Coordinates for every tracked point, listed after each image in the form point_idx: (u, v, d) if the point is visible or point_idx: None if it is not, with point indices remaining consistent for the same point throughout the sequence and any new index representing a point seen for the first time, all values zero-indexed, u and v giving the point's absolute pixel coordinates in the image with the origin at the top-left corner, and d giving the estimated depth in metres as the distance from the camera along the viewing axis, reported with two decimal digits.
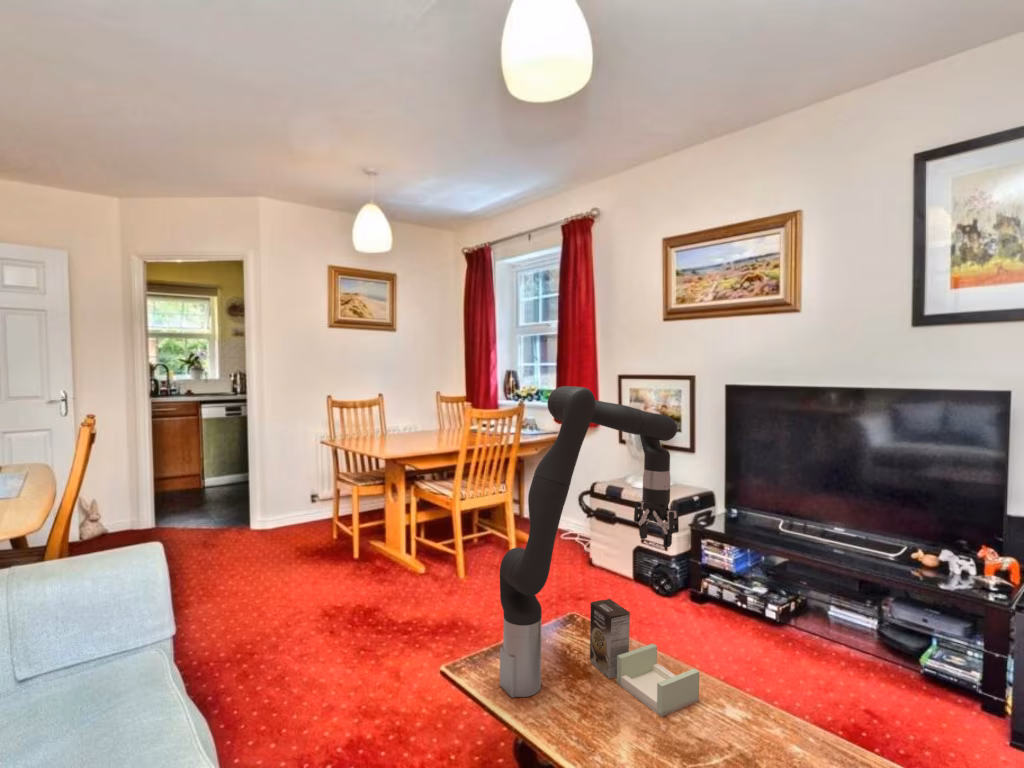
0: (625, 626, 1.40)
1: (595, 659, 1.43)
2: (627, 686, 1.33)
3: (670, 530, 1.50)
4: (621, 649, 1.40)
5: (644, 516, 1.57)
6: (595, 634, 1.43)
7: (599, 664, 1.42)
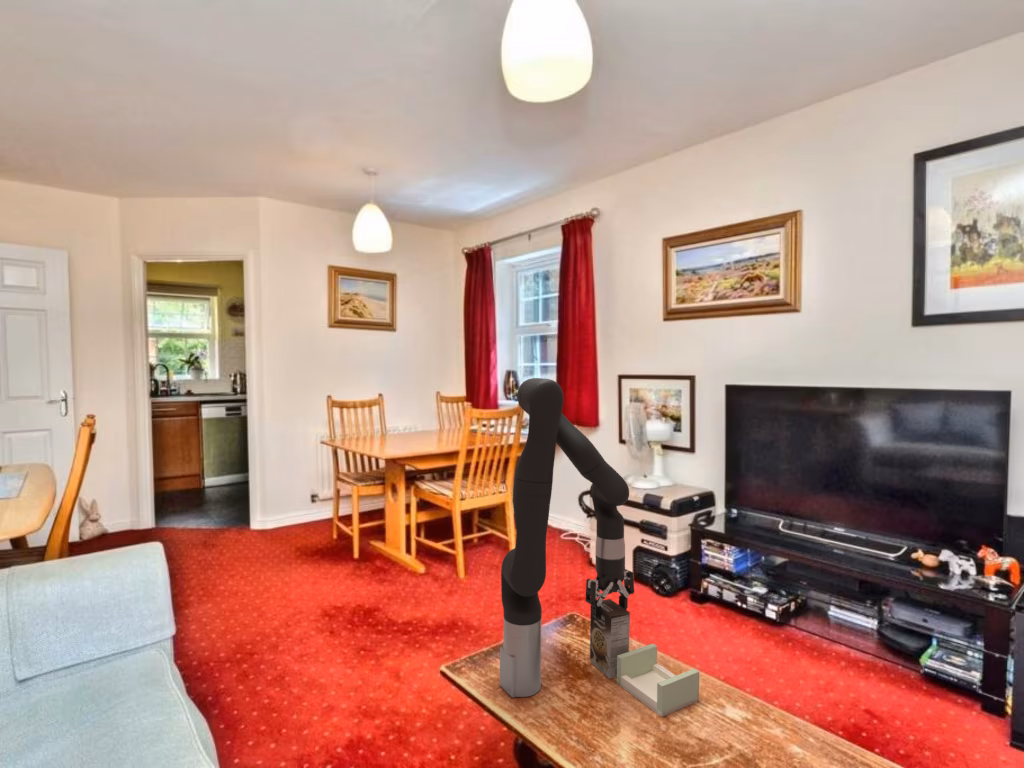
0: (625, 626, 1.40)
1: (595, 658, 1.43)
2: (627, 686, 1.33)
3: (632, 591, 1.45)
4: (621, 649, 1.40)
5: (606, 592, 1.40)
6: (595, 634, 1.43)
7: (599, 664, 1.42)
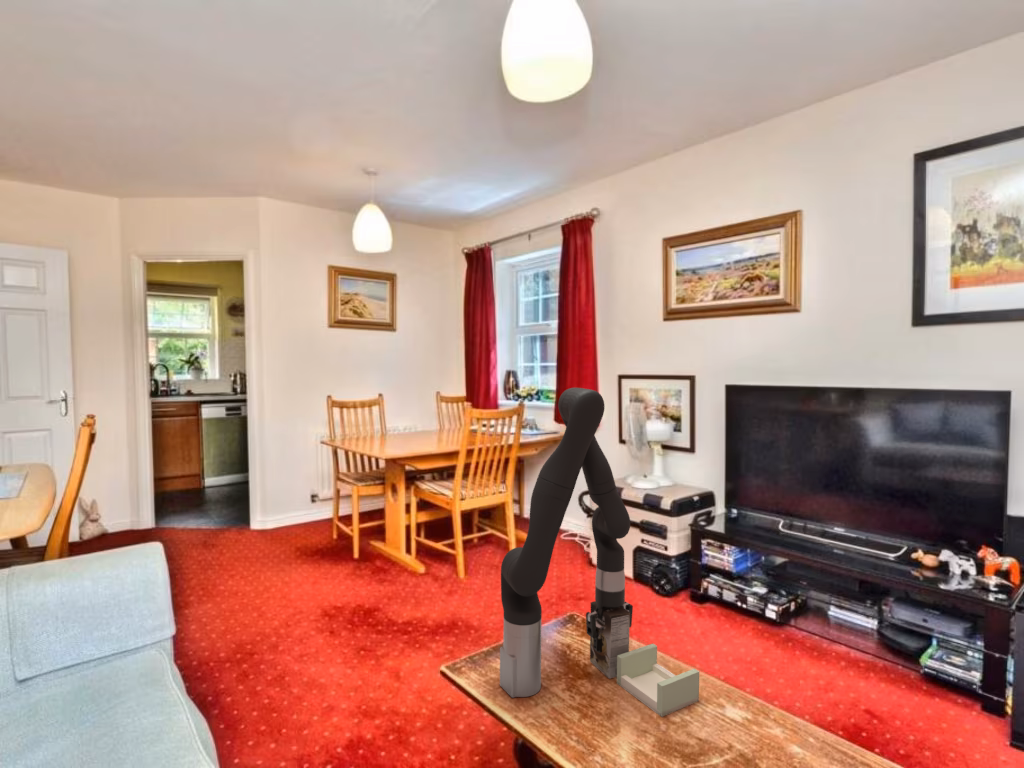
0: (625, 625, 1.40)
1: (595, 658, 1.43)
2: (627, 686, 1.33)
3: None
4: (621, 648, 1.40)
5: None
6: None
7: (599, 664, 1.42)
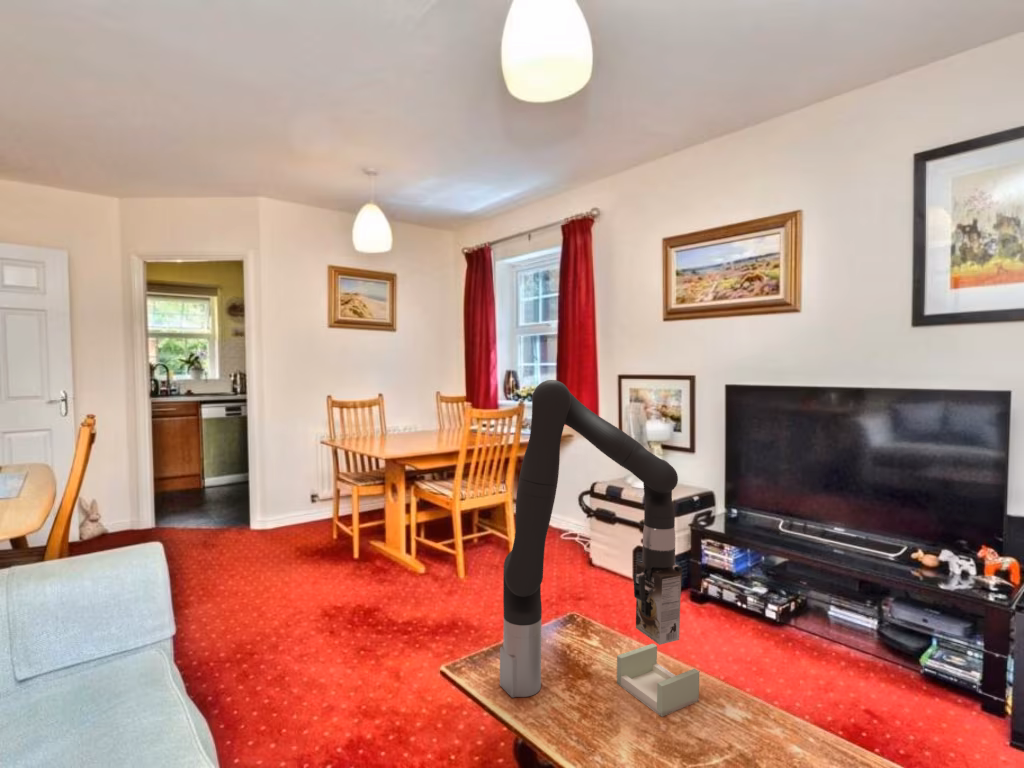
0: (676, 588, 1.29)
1: (643, 624, 1.32)
2: (627, 686, 1.33)
3: None
4: (672, 612, 1.29)
5: None
6: None
7: (647, 630, 1.31)
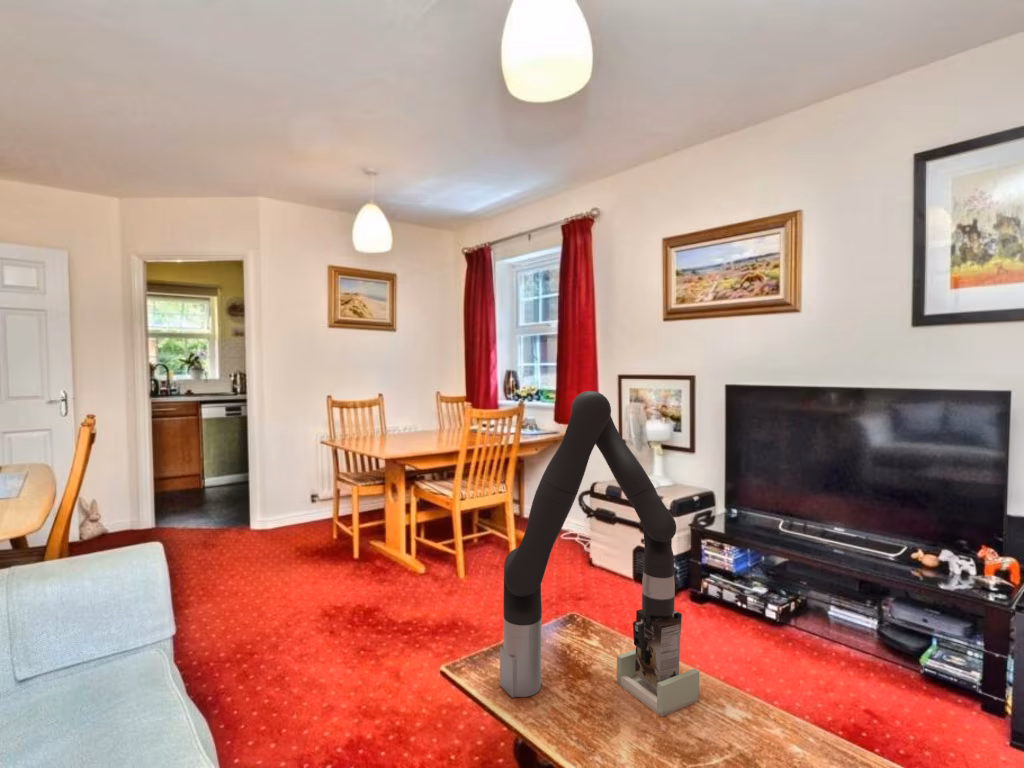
0: (676, 636, 1.29)
1: (642, 671, 1.33)
2: (627, 686, 1.33)
3: None
4: (671, 661, 1.29)
5: None
6: None
7: (646, 678, 1.31)
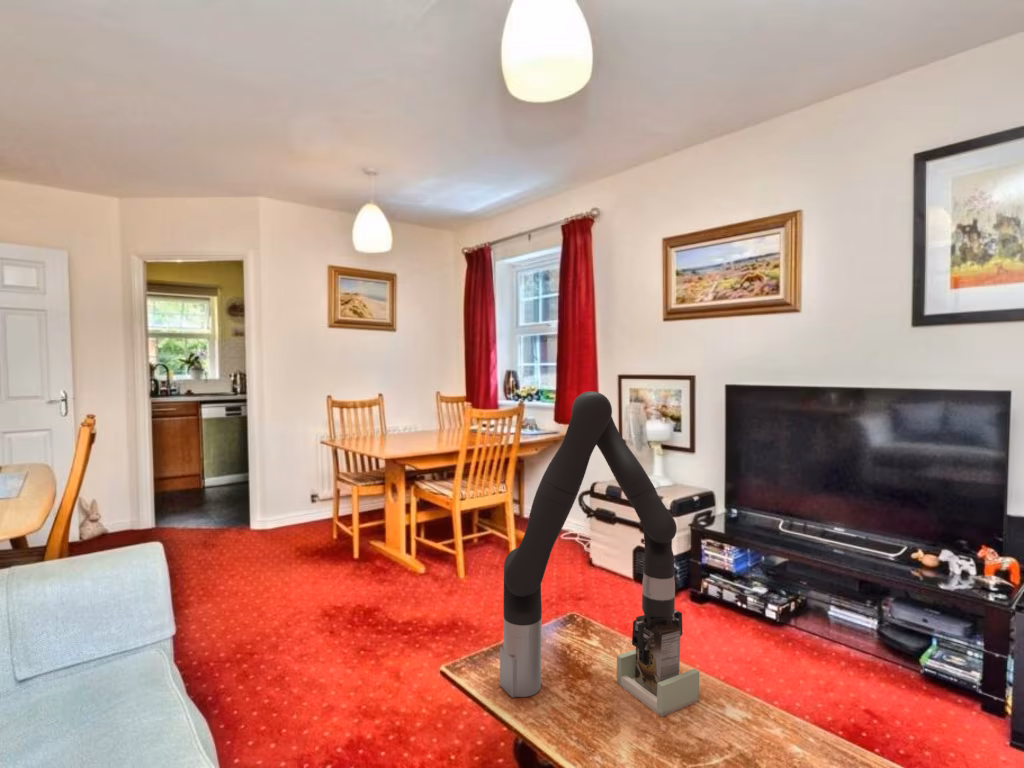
0: (676, 643, 1.29)
1: (642, 678, 1.33)
2: (627, 686, 1.33)
3: None
4: (672, 668, 1.29)
5: None
6: None
7: (646, 684, 1.32)
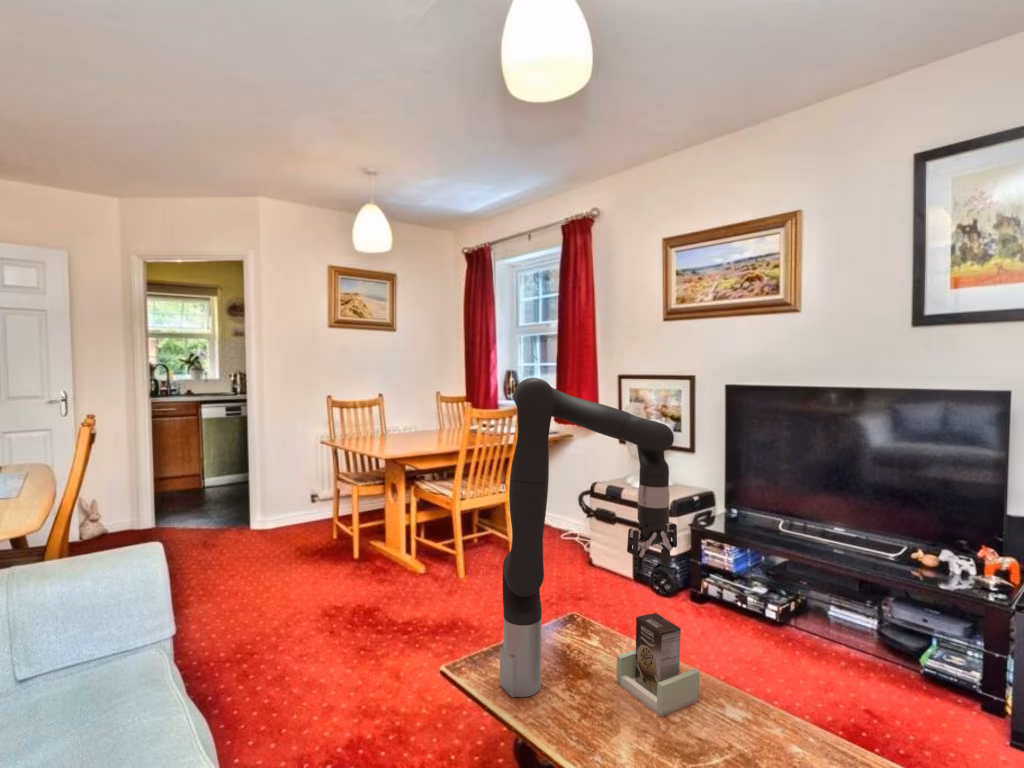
0: (676, 643, 1.29)
1: (642, 678, 1.33)
2: (627, 686, 1.33)
3: (675, 544, 1.38)
4: (672, 668, 1.29)
5: (649, 543, 1.33)
6: (642, 651, 1.33)
7: (646, 684, 1.32)
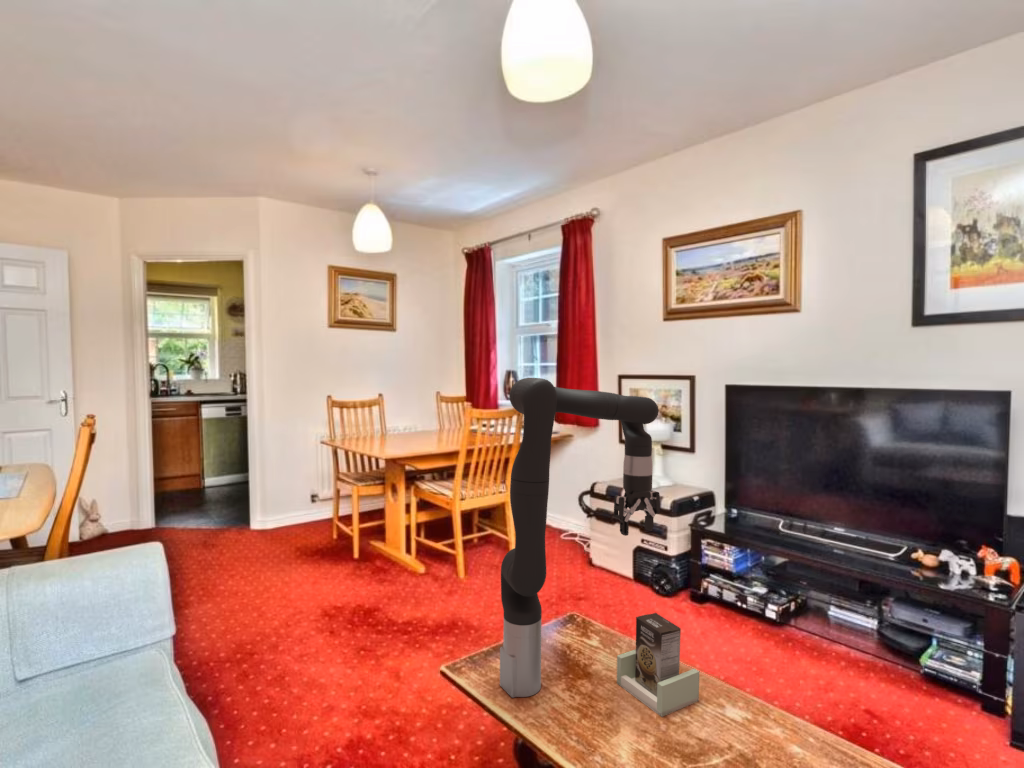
0: (676, 643, 1.29)
1: (642, 678, 1.33)
2: (627, 686, 1.33)
3: (658, 510, 1.49)
4: (672, 668, 1.29)
5: (634, 508, 1.44)
6: (642, 651, 1.33)
7: (646, 684, 1.32)
